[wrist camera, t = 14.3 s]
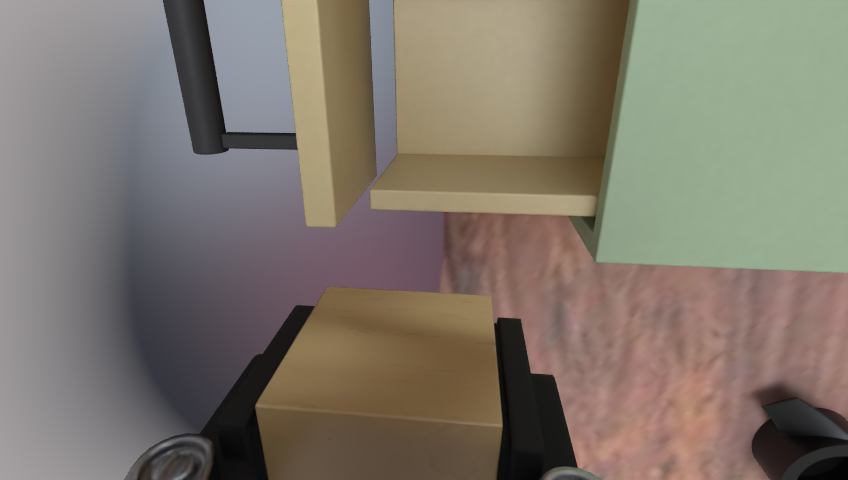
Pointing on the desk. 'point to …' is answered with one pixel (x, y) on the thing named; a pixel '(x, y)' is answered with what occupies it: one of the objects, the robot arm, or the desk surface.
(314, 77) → the drawer
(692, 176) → the box
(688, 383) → the desk surface
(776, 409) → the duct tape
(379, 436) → the block
